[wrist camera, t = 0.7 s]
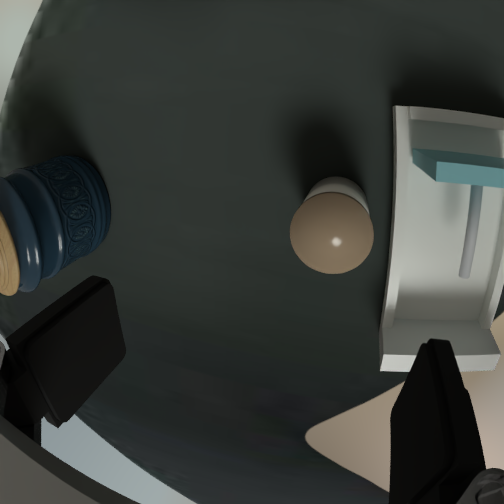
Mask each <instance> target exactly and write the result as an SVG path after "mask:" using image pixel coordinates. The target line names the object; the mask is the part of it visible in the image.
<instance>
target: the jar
mask: <svg viewBox="0 0 504 504" xmlns="http://www.w3.org/2000/svg"><path fill="white" fill-rule="evenodd" d="M373 238H374V232H373V225H372V221H371V218H370V215H369V209H368V203H367V199H366V196H365V194H364V192H363V191H362V189H361V188H360V187H359V186H358V185H357V184H356V183H355V182H353V181H351V180H349V179H347V178H344V177H337V176H336V177H328V178H325V179H323V180H320V181H319V182H317V183H316V184H315V185H314V186H313V187H312V188H311V190H310V191H309V193H308V195H307V197H306V198H305V200H304V202H303V203H302V204H301V206H300V207H299V208H298V210H297V211H296V213H295V215H294V217H293V219H292V222H291V227H290V239H291V243H292V246H293V249H294V251H295V252H296V254H297V256H298V257H299V258H300V259H301V260H302V261H303V262H304V263H305V264H306V265H307V266H309V267H310V268H312V269H314V270H316V271H319V272H323V273H329V274H338V273H343V272H347V271H350V270H352V269H354V268H355V267H357V266H358V265H360V264H361V263H362V262H363V261H364V260H365V258H366V257H367V256H368V254H369V252H370V250H371V248H372V244H373Z"/></svg>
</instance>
